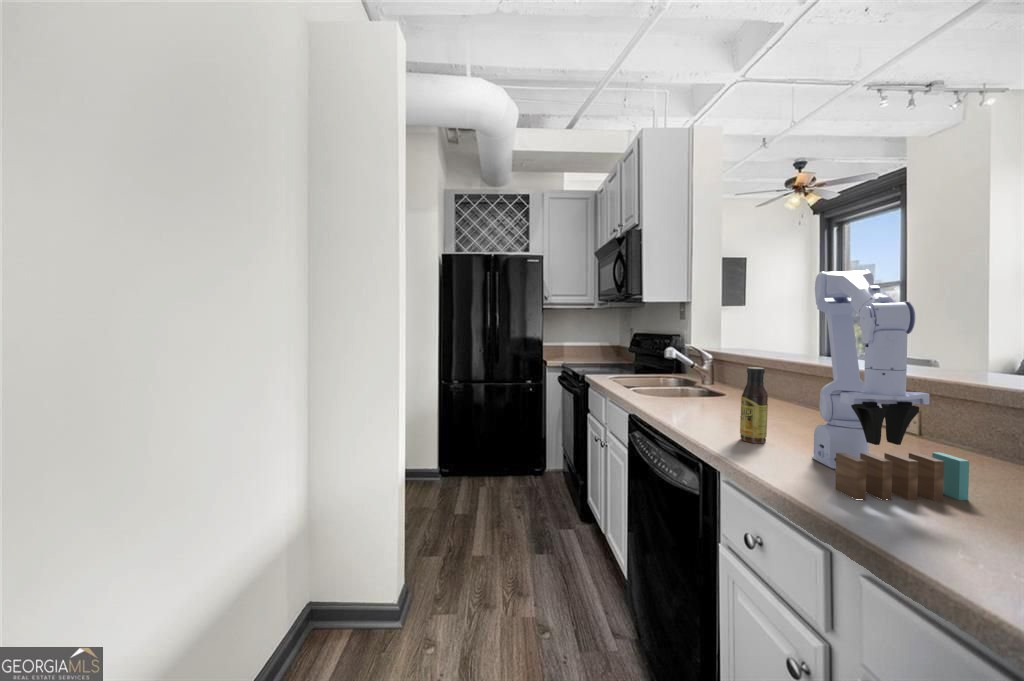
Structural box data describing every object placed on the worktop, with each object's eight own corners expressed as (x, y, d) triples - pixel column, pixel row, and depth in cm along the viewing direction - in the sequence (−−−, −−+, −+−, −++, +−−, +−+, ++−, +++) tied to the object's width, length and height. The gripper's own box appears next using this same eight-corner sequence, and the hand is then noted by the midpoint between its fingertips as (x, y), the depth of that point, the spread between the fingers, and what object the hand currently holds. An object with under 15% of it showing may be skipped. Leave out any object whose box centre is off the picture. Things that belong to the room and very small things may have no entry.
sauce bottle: (735, 438, 116) (736, 366, 116) (758, 438, 116) (759, 366, 116) (748, 444, 110) (749, 368, 109) (772, 444, 110) (773, 368, 109)
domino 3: (907, 500, 75) (908, 461, 74) (883, 489, 80) (884, 452, 80) (917, 500, 75) (918, 461, 74) (892, 489, 80) (893, 452, 79)
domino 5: (958, 500, 75) (960, 461, 74) (931, 489, 80) (932, 452, 79) (968, 500, 75) (969, 461, 74) (940, 489, 80) (941, 452, 79)
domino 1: (856, 500, 75) (857, 461, 75) (835, 489, 80) (836, 452, 80) (865, 500, 75) (866, 461, 75) (843, 489, 80) (844, 452, 80)
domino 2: (882, 500, 75) (883, 461, 75) (859, 489, 80) (860, 452, 80) (891, 500, 75) (892, 461, 75) (868, 489, 80) (868, 452, 80)
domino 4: (933, 500, 75) (934, 461, 74) (907, 489, 80) (908, 452, 79) (943, 500, 75) (944, 461, 74) (916, 489, 80) (917, 452, 79)
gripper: (863, 371, 72) (861, 449, 73) (947, 371, 72) (945, 449, 73) (832, 367, 79) (830, 439, 80) (909, 367, 79) (907, 438, 80)
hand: (883, 443), depth 77 cm, fingers open, 3 cm apart
